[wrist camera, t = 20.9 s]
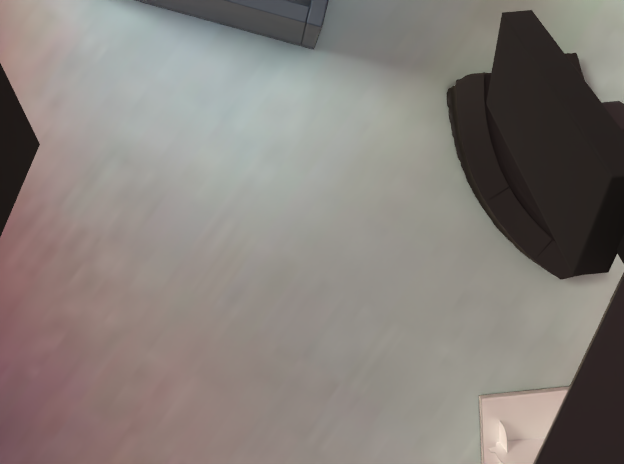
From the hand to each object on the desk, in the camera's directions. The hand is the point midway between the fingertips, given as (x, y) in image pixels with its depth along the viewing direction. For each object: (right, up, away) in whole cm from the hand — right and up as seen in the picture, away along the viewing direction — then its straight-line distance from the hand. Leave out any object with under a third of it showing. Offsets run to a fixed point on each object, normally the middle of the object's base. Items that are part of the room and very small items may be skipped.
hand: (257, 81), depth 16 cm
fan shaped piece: (+15, 0, +21) cm, 25 cm away
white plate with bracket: (+20, -17, +24) cm, 36 cm away
